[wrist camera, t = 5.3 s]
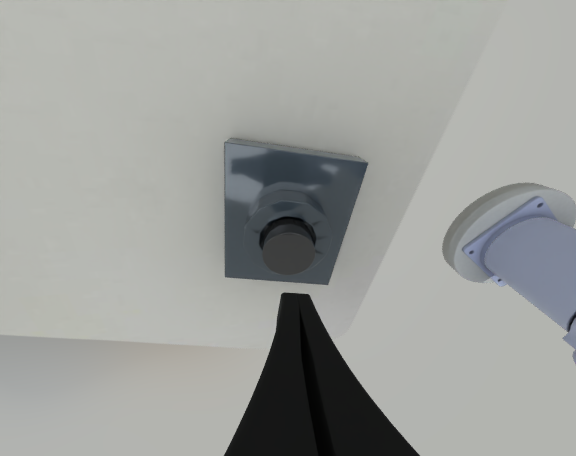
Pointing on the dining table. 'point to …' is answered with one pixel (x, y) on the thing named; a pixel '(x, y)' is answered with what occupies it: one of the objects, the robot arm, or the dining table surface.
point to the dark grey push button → (288, 247)
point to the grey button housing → (286, 204)
